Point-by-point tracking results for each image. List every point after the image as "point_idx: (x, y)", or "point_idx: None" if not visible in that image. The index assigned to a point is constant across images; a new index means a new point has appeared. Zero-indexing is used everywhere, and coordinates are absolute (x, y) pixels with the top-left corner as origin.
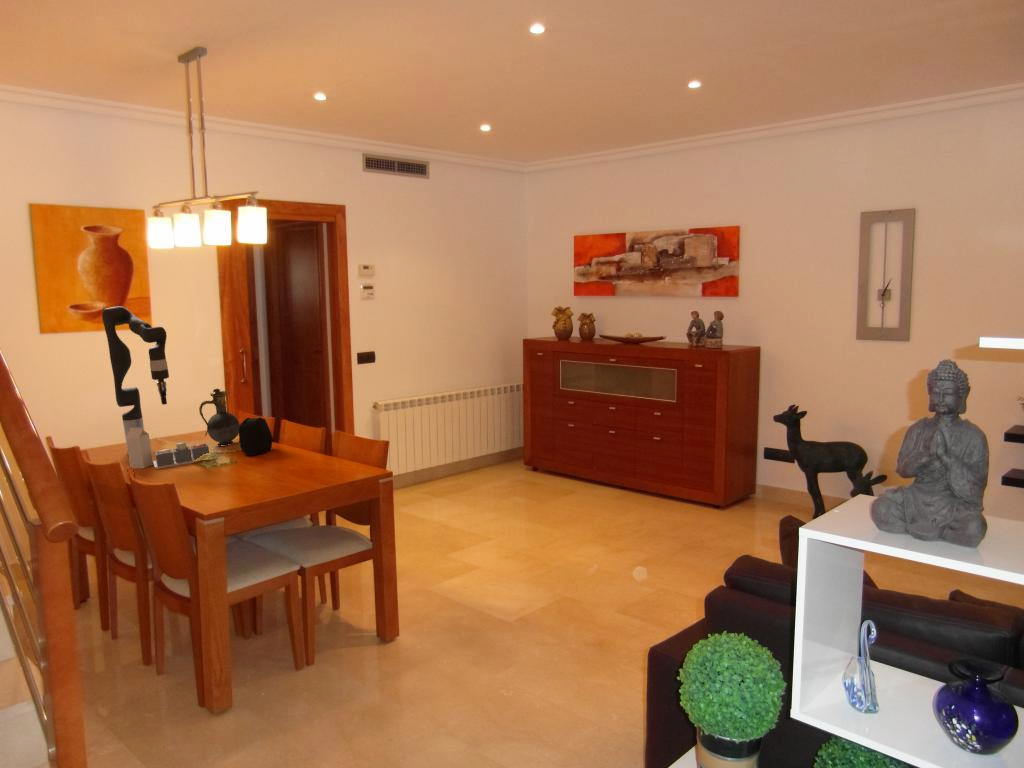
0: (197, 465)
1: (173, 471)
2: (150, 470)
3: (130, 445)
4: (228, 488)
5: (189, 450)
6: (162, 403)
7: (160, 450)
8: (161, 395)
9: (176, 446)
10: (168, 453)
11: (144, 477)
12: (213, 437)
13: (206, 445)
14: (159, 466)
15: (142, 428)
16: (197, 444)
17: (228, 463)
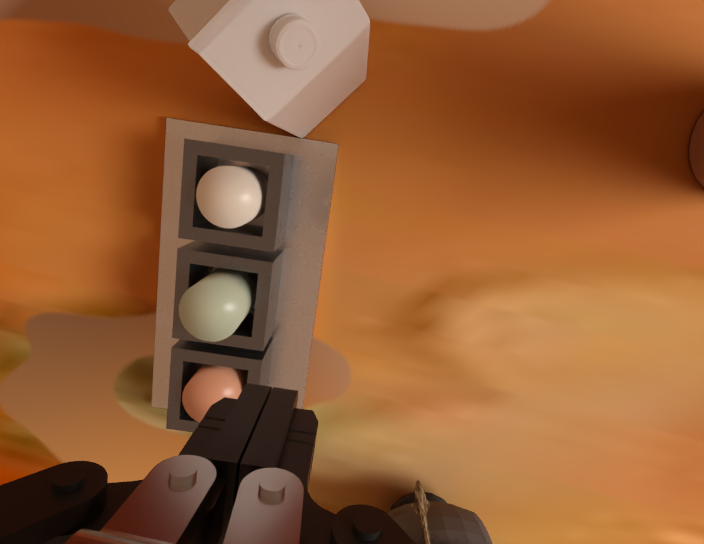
0: (88, 309)
1: (51, 185)
2: (171, 92)
3: None
4: None
5: (175, 328)
6: (243, 395)
7: (242, 181)
8: (28, 489)
9: (211, 278)
10: (180, 212)
11: (32, 28)
12: (398, 510)
13: (196, 426)
14: (168, 143)
15: (193, 44)
16: (218, 393)
17: (16, 423)
